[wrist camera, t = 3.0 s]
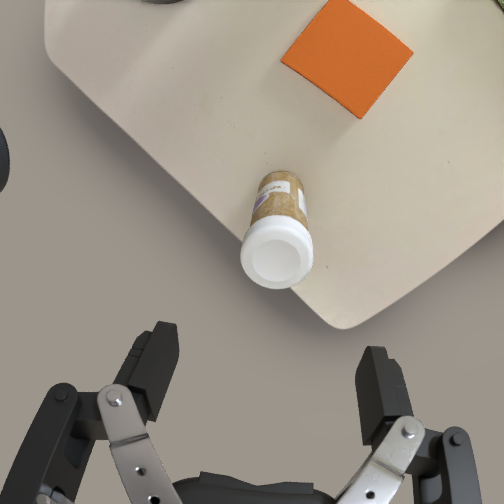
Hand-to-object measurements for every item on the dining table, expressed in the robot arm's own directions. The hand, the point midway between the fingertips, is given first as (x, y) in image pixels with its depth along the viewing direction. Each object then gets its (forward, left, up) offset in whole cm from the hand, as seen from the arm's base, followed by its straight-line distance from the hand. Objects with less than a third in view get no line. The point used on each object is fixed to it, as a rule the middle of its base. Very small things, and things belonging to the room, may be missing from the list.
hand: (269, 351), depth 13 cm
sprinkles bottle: (0, 0, -21) cm, 21 cm away
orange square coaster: (-3, +15, -21) cm, 26 cm away
